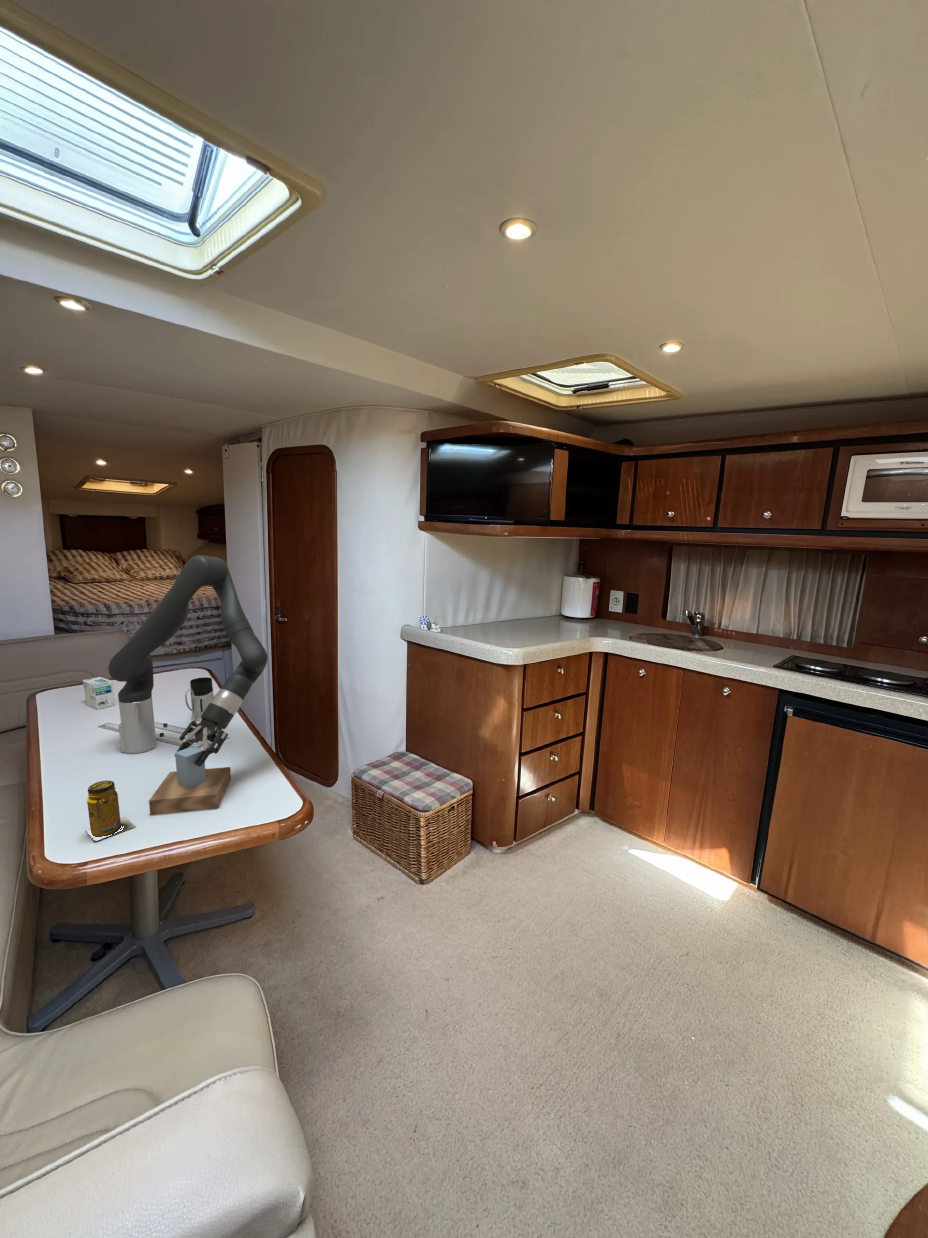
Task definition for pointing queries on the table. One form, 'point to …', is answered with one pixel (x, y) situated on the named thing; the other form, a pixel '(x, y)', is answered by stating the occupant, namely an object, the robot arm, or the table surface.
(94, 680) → the light bulb box
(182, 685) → the table surface
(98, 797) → the condiment
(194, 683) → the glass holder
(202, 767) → the slate block
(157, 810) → the walnut plinth
